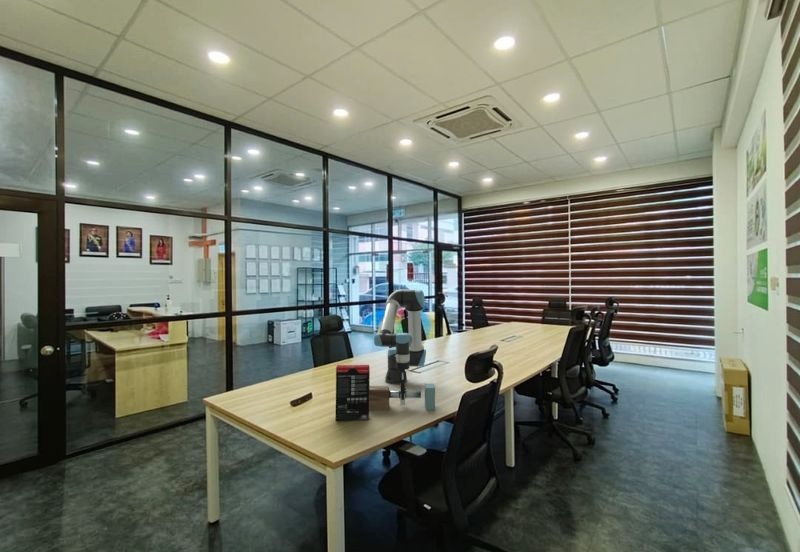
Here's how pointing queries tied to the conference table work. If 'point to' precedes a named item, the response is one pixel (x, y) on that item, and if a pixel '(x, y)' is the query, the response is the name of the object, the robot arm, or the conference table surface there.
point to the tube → (407, 394)
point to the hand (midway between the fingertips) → (402, 403)
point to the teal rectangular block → (429, 396)
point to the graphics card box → (352, 392)
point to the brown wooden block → (378, 397)
